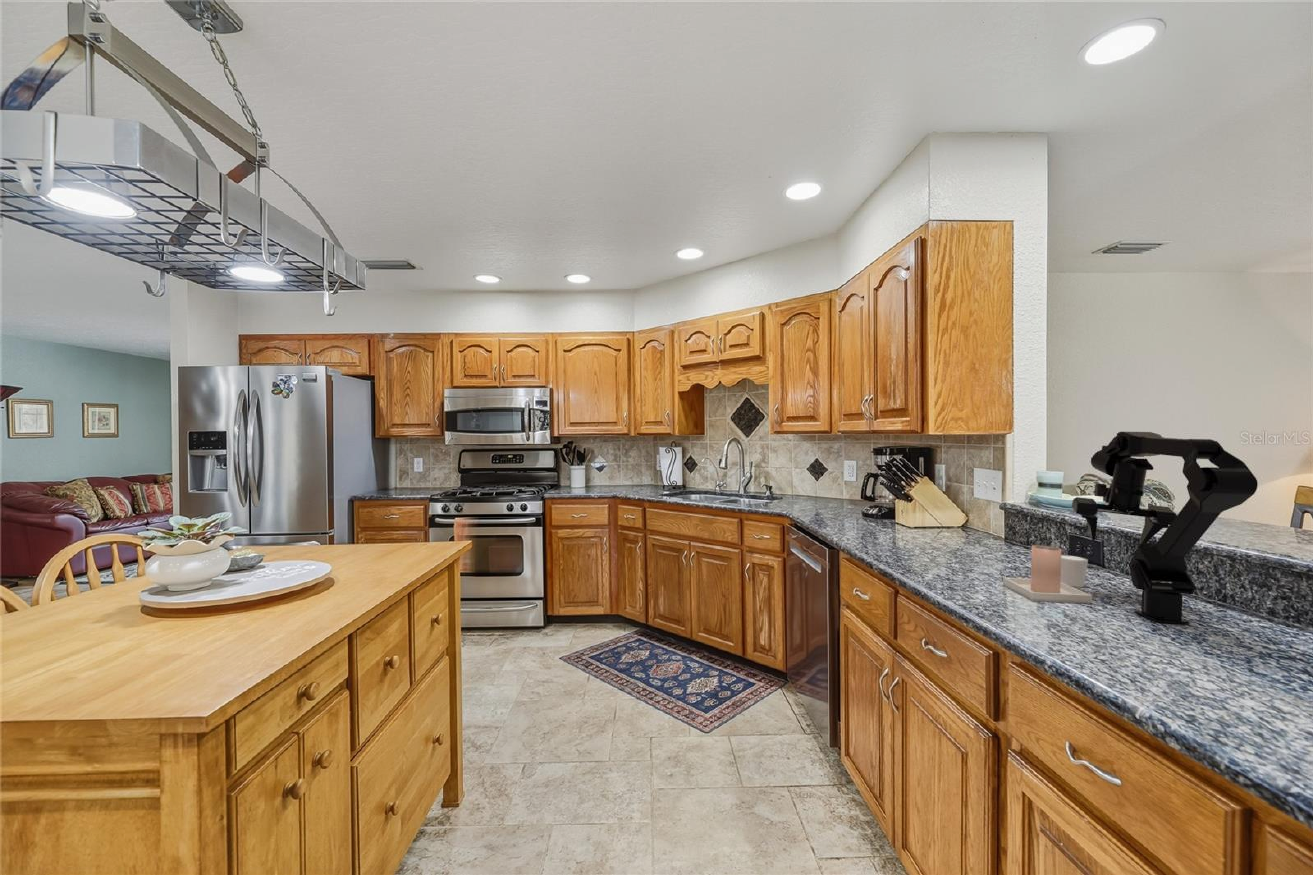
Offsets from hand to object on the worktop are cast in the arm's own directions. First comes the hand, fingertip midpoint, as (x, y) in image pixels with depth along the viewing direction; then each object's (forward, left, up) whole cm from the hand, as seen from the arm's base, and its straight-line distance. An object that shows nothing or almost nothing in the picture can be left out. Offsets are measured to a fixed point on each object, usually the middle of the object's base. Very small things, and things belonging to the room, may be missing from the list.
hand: (1116, 543), depth 131 cm
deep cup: (0, +16, -13) cm, 21 cm away
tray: (0, +16, -13) cm, 21 cm away
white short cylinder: (+11, +3, -13) cm, 18 cm away
